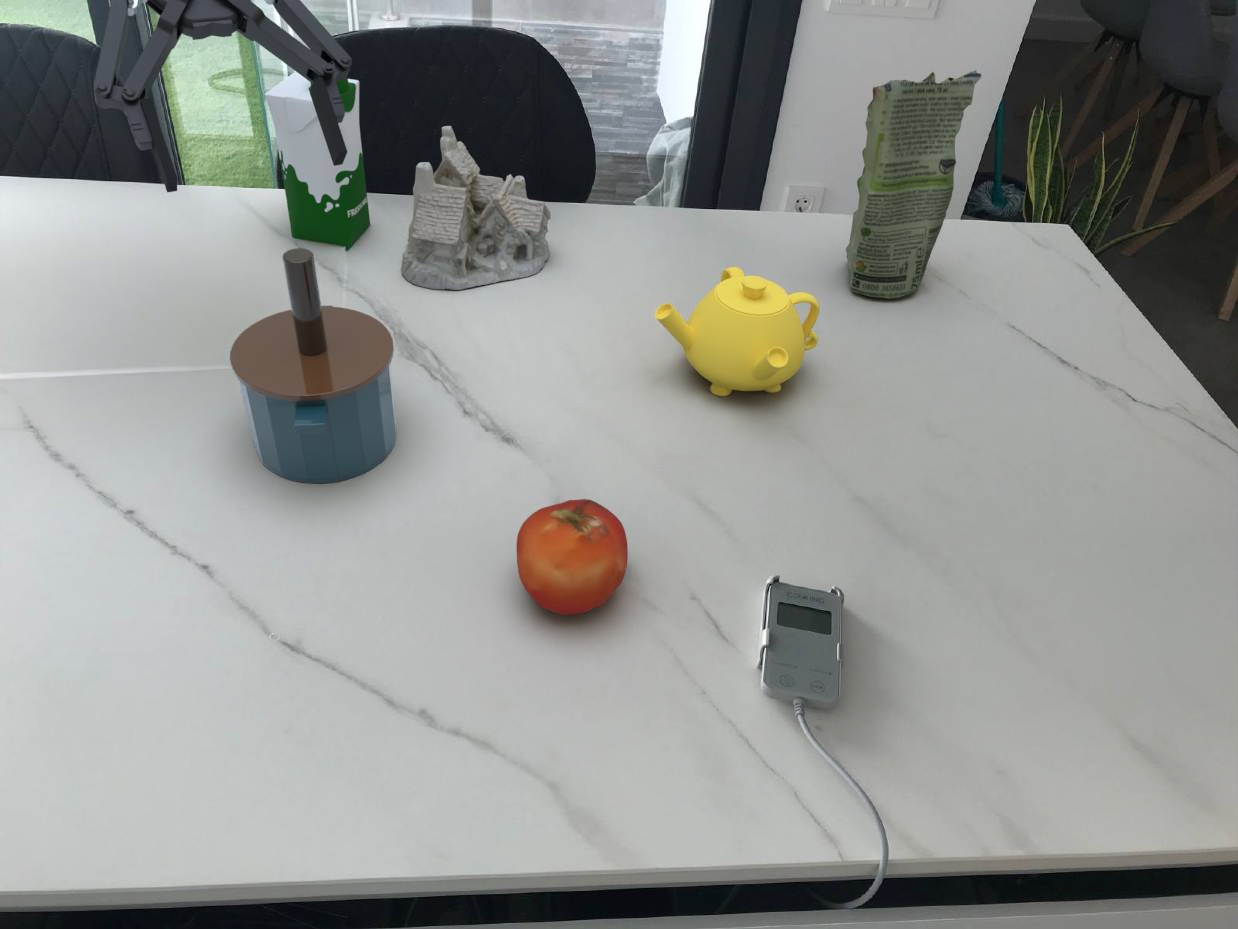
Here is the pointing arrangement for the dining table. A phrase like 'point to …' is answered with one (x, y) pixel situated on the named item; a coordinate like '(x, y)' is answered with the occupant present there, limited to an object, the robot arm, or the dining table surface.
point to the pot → (324, 432)
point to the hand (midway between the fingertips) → (259, 172)
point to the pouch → (905, 181)
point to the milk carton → (319, 165)
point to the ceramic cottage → (471, 225)
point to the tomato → (571, 556)
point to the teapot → (744, 333)
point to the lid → (310, 344)
